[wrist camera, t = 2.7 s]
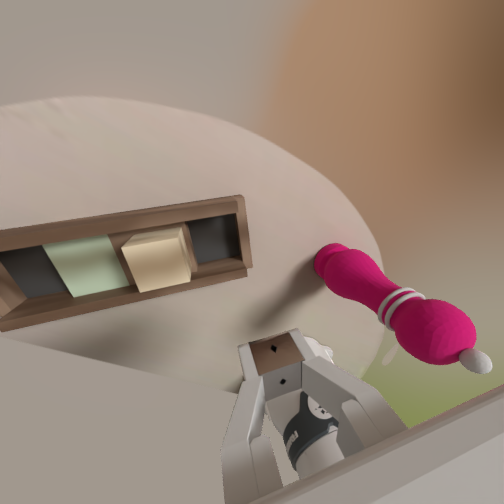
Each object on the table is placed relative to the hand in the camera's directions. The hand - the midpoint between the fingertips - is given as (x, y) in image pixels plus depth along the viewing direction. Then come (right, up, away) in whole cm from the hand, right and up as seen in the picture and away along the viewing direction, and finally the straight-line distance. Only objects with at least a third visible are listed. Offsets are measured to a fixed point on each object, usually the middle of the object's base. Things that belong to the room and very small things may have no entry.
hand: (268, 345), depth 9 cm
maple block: (-11, +5, +13) cm, 18 cm away
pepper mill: (+12, +3, +23) cm, 27 cm away
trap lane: (-15, +5, +15) cm, 22 cm away
